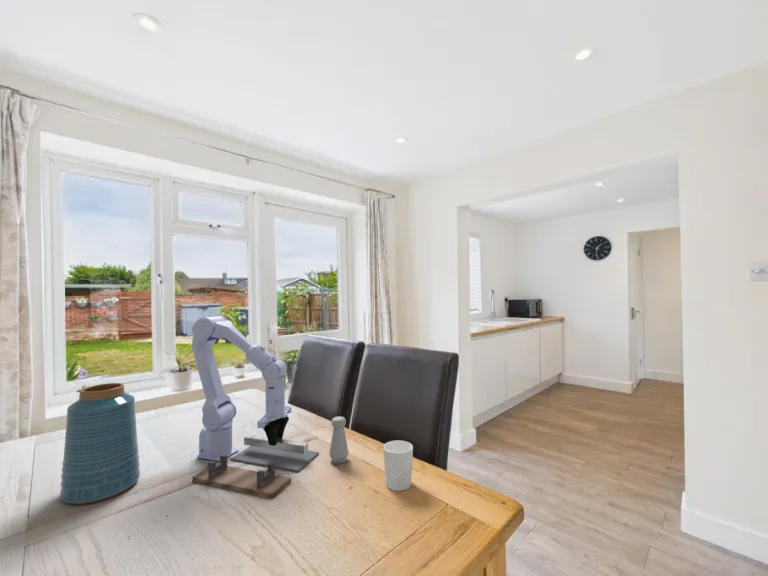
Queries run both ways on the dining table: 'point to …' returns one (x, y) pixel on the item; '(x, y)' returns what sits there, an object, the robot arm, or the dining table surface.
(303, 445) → the rail
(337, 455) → the salt shaker
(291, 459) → the mat
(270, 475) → the rack
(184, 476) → the dining table surface
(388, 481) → the white cup
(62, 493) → the vase
